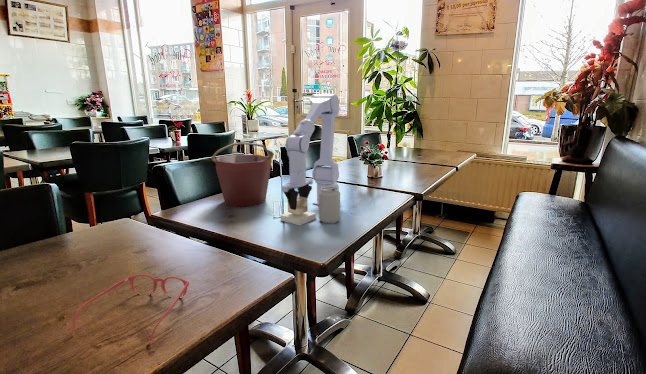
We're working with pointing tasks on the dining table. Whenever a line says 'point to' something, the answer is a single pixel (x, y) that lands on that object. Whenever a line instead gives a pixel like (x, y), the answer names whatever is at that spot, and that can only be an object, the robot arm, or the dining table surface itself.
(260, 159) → the bucket
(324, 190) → the can
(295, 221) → the coaster
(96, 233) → the dining table surface
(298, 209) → the cube
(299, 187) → the robot arm
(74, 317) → the red eyeglasses
